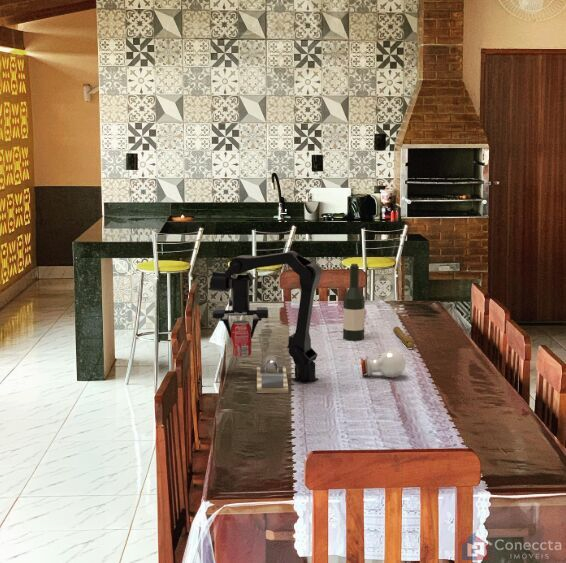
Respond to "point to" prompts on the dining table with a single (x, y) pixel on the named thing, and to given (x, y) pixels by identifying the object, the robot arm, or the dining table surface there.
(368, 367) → the potion bottle
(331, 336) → the dining table surface
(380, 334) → the dining table surface
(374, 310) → the dining table surface
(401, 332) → the tap handle
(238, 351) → the soda can
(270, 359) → the shaft
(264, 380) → the cradle
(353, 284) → the wine bottle
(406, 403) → the dining table surface
